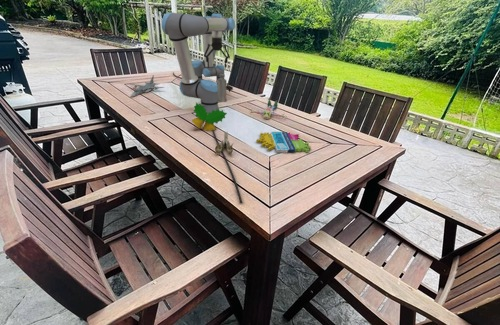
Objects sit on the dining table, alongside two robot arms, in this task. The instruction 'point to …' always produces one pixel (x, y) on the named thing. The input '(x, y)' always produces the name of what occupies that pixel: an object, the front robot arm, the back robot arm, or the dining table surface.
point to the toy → (269, 111)
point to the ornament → (207, 117)
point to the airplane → (145, 87)
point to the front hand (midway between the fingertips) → (216, 66)
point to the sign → (283, 142)
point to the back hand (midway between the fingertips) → (221, 90)
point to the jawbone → (224, 145)
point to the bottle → (221, 89)
